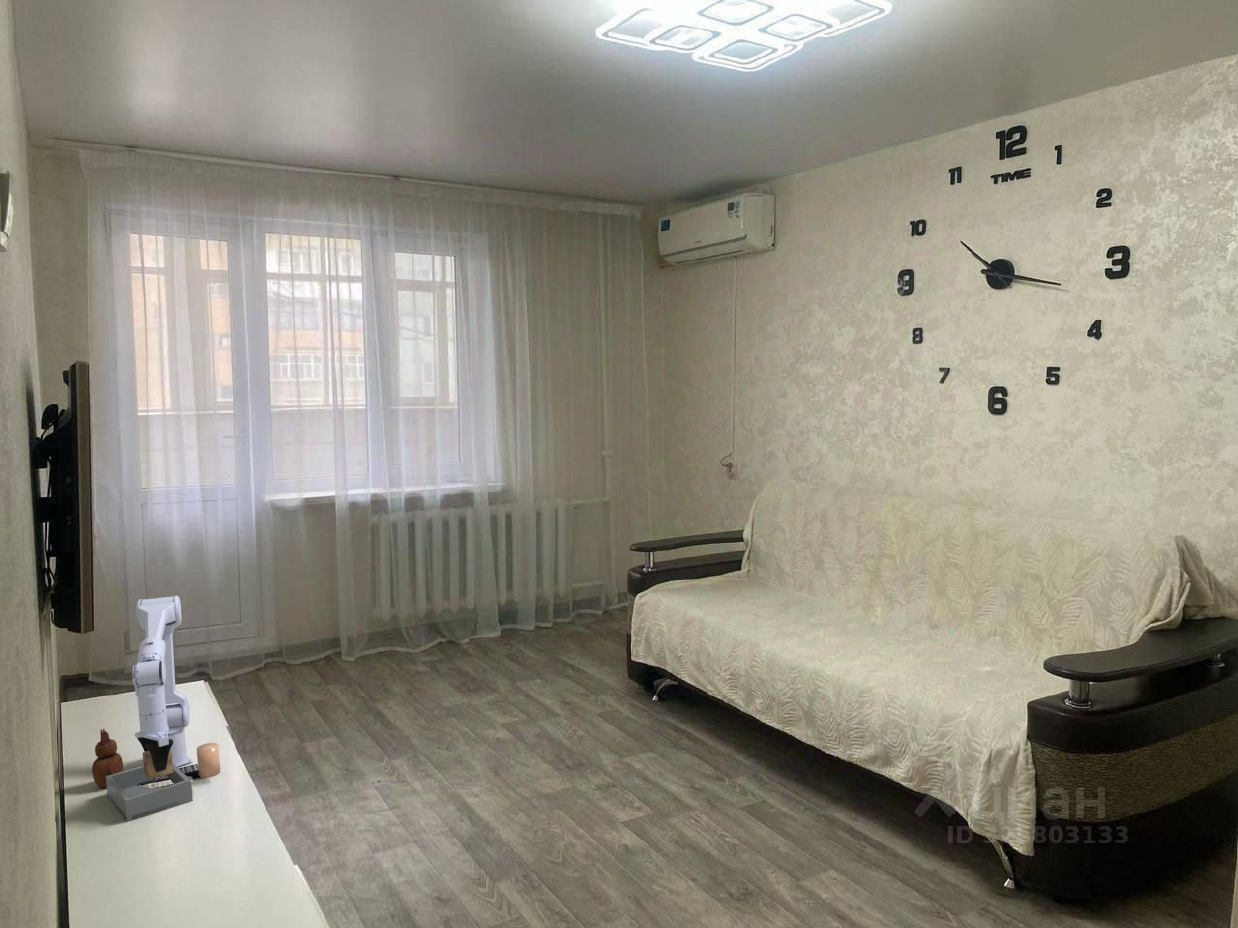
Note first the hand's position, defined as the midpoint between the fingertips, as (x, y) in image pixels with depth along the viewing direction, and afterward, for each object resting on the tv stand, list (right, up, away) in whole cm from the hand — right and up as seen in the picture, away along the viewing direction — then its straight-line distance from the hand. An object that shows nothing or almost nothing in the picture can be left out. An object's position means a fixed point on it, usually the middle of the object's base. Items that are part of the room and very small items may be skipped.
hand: (157, 766), depth 211 cm
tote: (-3, -8, +2) cm, 9 cm away
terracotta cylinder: (+5, -7, +15) cm, 18 cm away
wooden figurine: (-17, -8, +11) cm, 22 cm away
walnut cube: (0, -2, 0) cm, 2 cm away
